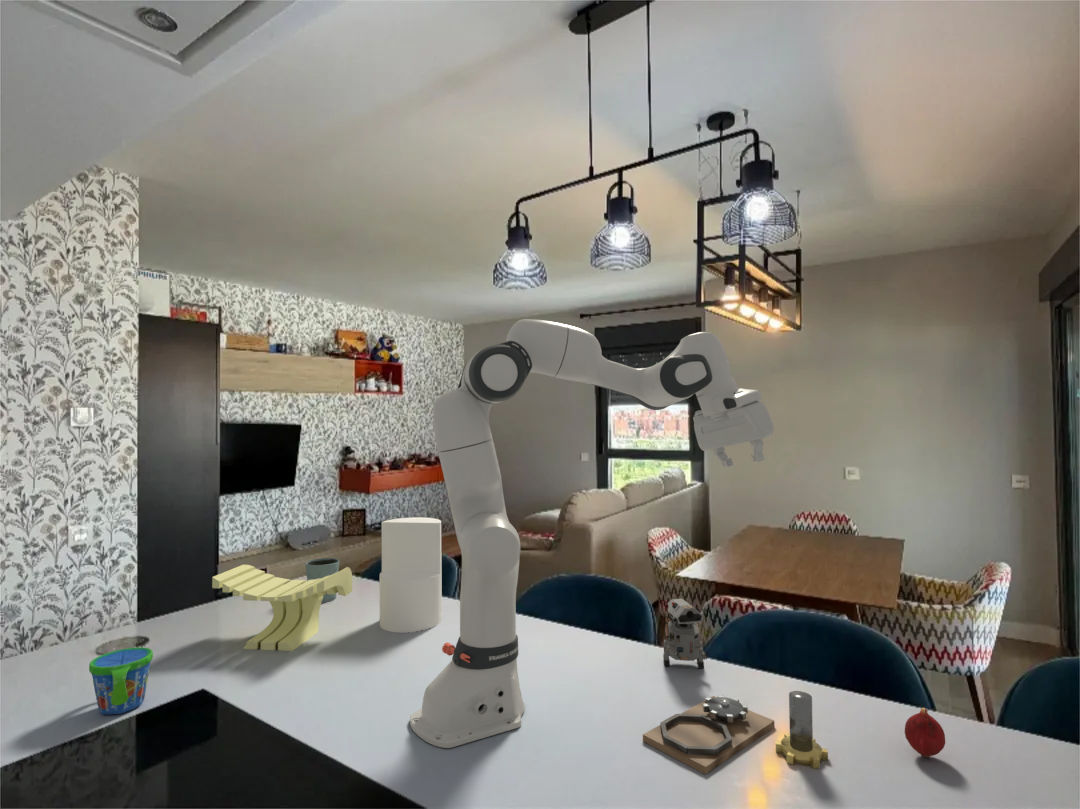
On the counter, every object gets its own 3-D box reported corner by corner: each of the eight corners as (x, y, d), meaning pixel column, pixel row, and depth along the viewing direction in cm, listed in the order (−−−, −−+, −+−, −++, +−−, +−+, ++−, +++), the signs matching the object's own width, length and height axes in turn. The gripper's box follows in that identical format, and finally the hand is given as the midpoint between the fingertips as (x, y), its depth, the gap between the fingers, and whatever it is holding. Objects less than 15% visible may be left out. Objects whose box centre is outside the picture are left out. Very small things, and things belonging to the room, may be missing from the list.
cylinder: (393, 610, 179) (393, 516, 179) (449, 612, 176) (448, 517, 177) (369, 631, 161) (368, 527, 162) (430, 633, 159) (430, 528, 160)
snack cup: (98, 696, 125) (98, 647, 125) (157, 686, 129) (158, 639, 130) (79, 732, 111) (79, 677, 111) (146, 718, 115) (146, 666, 116)
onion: (952, 768, 97) (951, 719, 97) (913, 764, 98) (912, 715, 98) (936, 749, 103) (935, 702, 103) (899, 745, 104) (898, 699, 104)
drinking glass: (299, 603, 186) (299, 564, 187) (316, 593, 196) (316, 557, 197) (329, 604, 185) (329, 565, 185) (345, 594, 195) (345, 557, 195)
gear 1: (732, 734, 106) (732, 716, 106) (694, 717, 112) (694, 700, 112) (756, 719, 111) (755, 701, 111) (718, 703, 117) (718, 687, 117)
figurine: (665, 678, 131) (664, 609, 132) (663, 656, 143) (662, 594, 143) (708, 680, 130) (707, 611, 130) (702, 659, 141) (701, 595, 142)
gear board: (705, 774, 96) (705, 760, 96) (642, 741, 106) (642, 728, 106) (774, 727, 110) (774, 715, 110) (713, 701, 120) (713, 690, 120)
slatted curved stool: (352, 629, 163) (352, 564, 163) (324, 652, 147) (323, 580, 148) (250, 625, 167) (250, 561, 167) (212, 647, 151) (212, 577, 151)
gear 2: (812, 774, 96) (811, 711, 96) (768, 754, 102) (767, 695, 102) (834, 755, 101) (833, 696, 101) (791, 737, 107) (790, 681, 107)
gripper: (681, 416, 137) (701, 473, 136) (743, 396, 119) (767, 462, 118) (701, 409, 140) (721, 465, 139) (765, 389, 122) (789, 453, 121)
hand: (743, 463), depth 128 cm, fingers open, 8 cm apart
